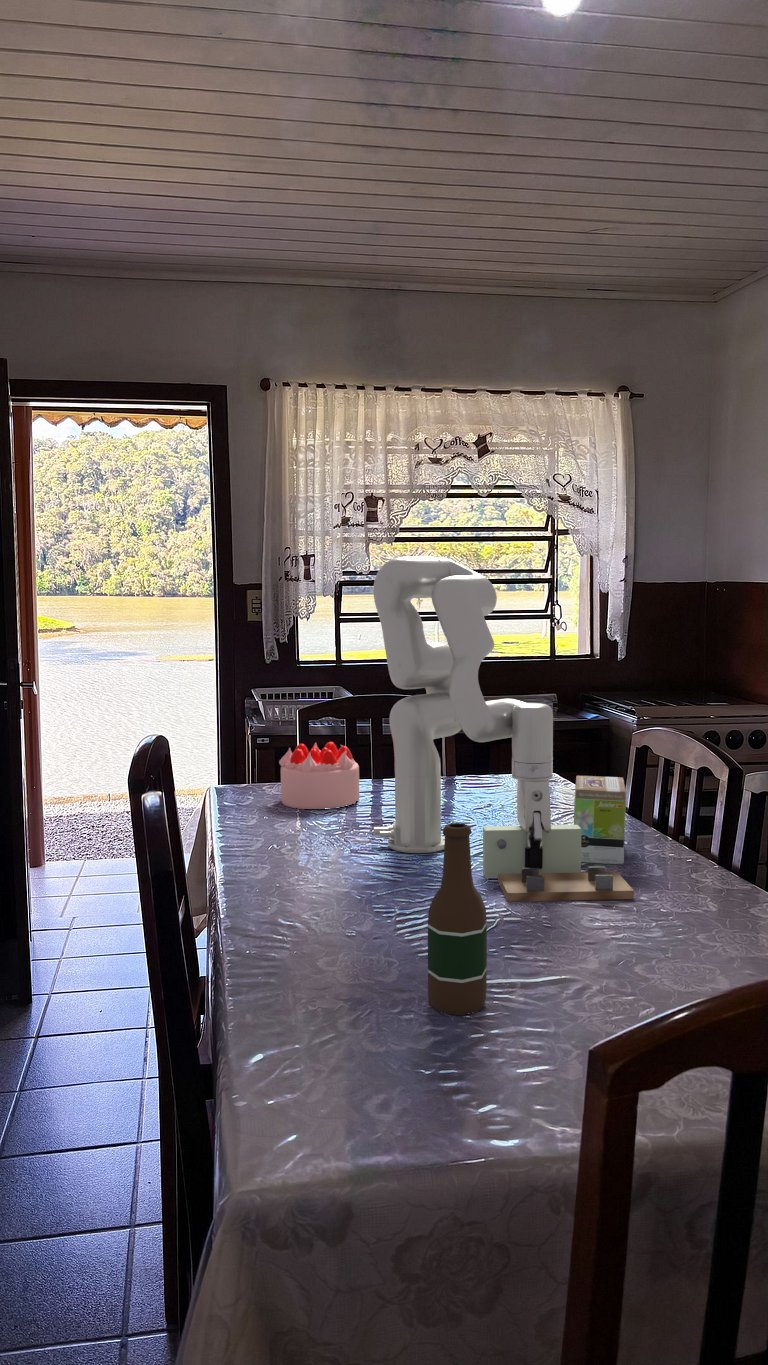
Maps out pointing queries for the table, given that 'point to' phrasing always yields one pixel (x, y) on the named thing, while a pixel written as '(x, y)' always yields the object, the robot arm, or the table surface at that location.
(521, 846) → the door
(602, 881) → the hinge clips
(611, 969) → the table surface
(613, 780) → the tea box
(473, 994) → the beer bottle
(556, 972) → the table surface
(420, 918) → the table surface
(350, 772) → the cake
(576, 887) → the cabinet side
